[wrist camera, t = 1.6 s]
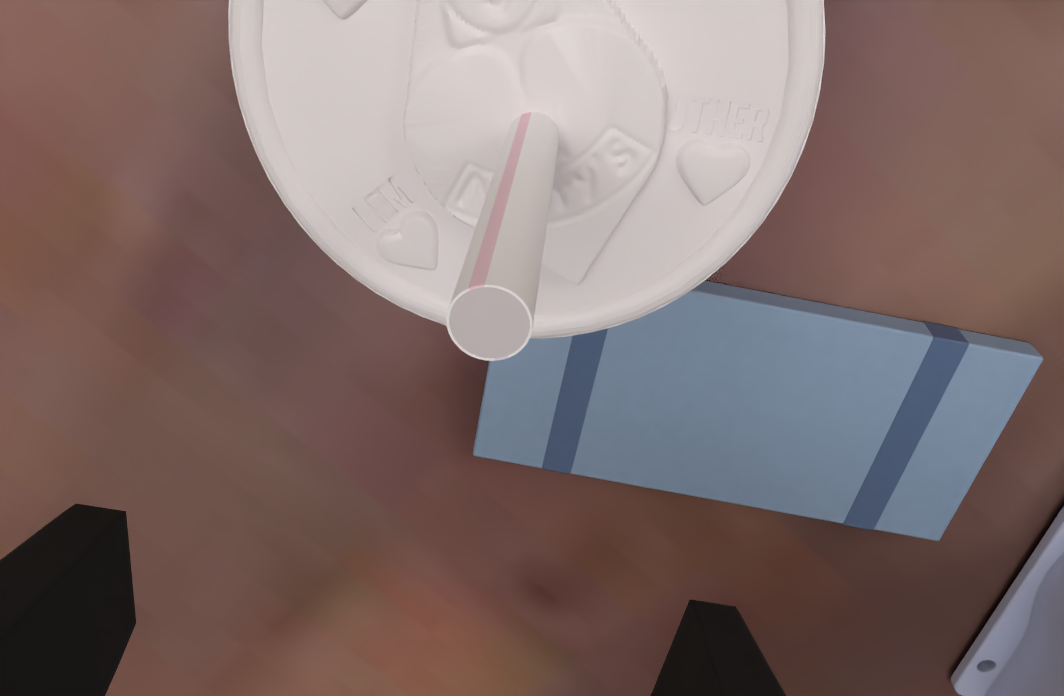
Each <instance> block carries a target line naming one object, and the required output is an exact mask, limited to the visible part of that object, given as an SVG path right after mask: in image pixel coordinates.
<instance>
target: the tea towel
mask: <svg viewBox="0 0 1064 696" xmlns="http://www.w3.org/2000/svg"><path fill="white" fill-rule="evenodd" d="M1042 361H1043V357H1042V356H1041V355H1040V354H1039V353H1038V352H1037V351H1036V350H1035V348H1034V347H1033V346H1032V345H1031V344H1030V343H1027V342H1022V341H1017V340H1012V339H1006V338H1001V337H996V336H991V335H985V334H980V333H975V332H970V331H965V330H959V329H958V328H955V327H950V326H945V325H939V324H934V323H929V322H918V321H913V320H907V319H902V318H897V317H892V316H886V315H881V314H876V313H871V312H866V311H860V310H855V309H850V308H845V307H840V306H834V305H829V304H824V303H819V302H814V301H808V300H803V299H798V298H793V297H787V296H782V295H777V294H772V293H767V292H761V291H756V290H751V289H746V288H741V287H735V286H730V285H725V284H720V283H715V282H709V281H703V282H702V283H700V284H699V285H697V286H696V287H695V288H693V289H692V290H690V291H689V292H687V293H686V294H685V295H683V296H681V297H679V298H678V299H676V300H674V301H672V302H670V303H669V304H667V305H665V306H663V307H662V308H659V309H657V310H655V311H653V312H651V313H649V314H646V315H644V316H642V317H640V318H637V319H634V320H632V321H629V322H626V323H623V324H620V325H617V326H614V327H610V328H607V329H603V330H599V331H595V332H591V333H585V334H579V335H573V336H567V337H555V338H530V339H529V341H528V343H527V344H526V345H525V346H524V348H523V349H522V350H521V351H519V352H518V353H517V354H515V355H513V356H511V357H510V358H506V359H503V360H497V361H489V364H488V370H487V375H486V381H485V387H484V392H483V398H482V404H481V409H480V415H479V420H478V426H477V432H476V437H475V443H474V449H473V455H474V456H478V457H483V458H489V459H494V460H500V461H505V462H510V463H516V464H521V465H527V466H532V467H538V468H542V469H545V470H550V471H555V472H561V473H566V474H576V475H581V476H587V477H592V478H597V479H603V480H608V481H614V482H619V483H625V484H630V485H636V486H641V487H646V488H652V489H657V490H663V491H668V492H674V493H679V494H685V495H690V496H695V497H701V498H706V499H712V500H717V501H723V502H728V503H734V504H739V505H744V506H750V507H755V508H761V509H766V510H772V511H777V512H782V513H788V514H793V515H799V516H804V517H810V518H815V519H821V520H826V521H831V522H837V523H842V524H843V525H845V526H851V527H856V528H862V529H867V530H874V529H875V530H880V531H886V532H891V533H897V534H902V535H908V536H913V537H919V538H924V539H929V540H935V541H939V540H940V538H941V536H942V535H943V533H944V531H945V529H946V528H947V526H948V524H949V522H950V521H951V519H952V517H953V515H954V514H955V512H956V510H957V509H958V507H959V505H960V503H961V502H962V500H963V498H964V496H965V495H966V493H967V491H968V489H969V488H970V486H971V484H972V482H973V481H974V479H975V477H976V475H977V474H978V472H979V470H980V469H981V467H982V465H983V463H984V462H985V460H986V458H987V456H988V455H989V453H990V451H991V449H992V448H993V446H994V444H995V442H996V441H997V439H998V437H999V435H1000V434H1001V432H1002V430H1003V429H1004V427H1005V425H1006V423H1007V422H1008V420H1009V418H1010V416H1011V415H1012V413H1013V411H1014V409H1015V408H1016V406H1017V404H1018V402H1019V401H1020V399H1021V397H1022V395H1023V394H1024V392H1025V390H1026V388H1027V387H1028V385H1029V383H1030V382H1031V380H1032V378H1033V376H1034V375H1035V373H1036V371H1037V369H1038V368H1039V366H1040V364H1041V362H1042Z"/></svg>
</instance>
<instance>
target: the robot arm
mask: <svg viewBox="0 0 1064 696" xmlns="http://www.w3.org/2000/svg"><path fill="white" fill-rule="evenodd" d="M135 624H136V617H135V606H134V595H133V584H132V573H131V562H130V551H129V540H128V529H127V518H126V511H120V510H113V509H107V508H101V507H94V506H88V505H81V504H75V505H73V506H72V507H70V508H69V509H67V510H66V511H64V512H63V513H62V514H60V515H59V516H58V517H56V518H55V519H54V520H52V521H51V522H50V523H48V524H47V525H46V526H44V527H43V528H42V529H41V530H39V531H38V532H37V533H35V534H34V535H33V536H31V537H30V538H29V539H27V540H26V541H25V542H23V543H22V544H21V545H20V546H18V547H17V548H16V549H14V550H13V551H12V552H10V553H9V554H8V555H6V556H5V557H4V558H2V559H1V560H0V696H105V694H106V692H107V690H108V688H109V685H110V683H111V681H112V679H113V676H114V674H115V672H116V670H117V667H118V665H119V663H120V660H121V658H122V655H123V653H124V651H125V648H126V646H127V643H128V641H129V639H130V636H131V634H132V631H133V629H134V627H135ZM951 682H952V685H953V687H954V689H955V691H956V692H957V693H958V694H959V695H962V696H1064V506H1063V508H1062V509H1061V511H1060V512H1059V514H1058V515H1057V517H1056V518H1055V520H1054V521H1053V523H1052V524H1051V526H1050V527H1049V529H1048V530H1047V532H1046V533H1045V535H1044V536H1043V538H1042V539H1041V541H1040V542H1039V544H1038V546H1037V547H1036V549H1035V550H1034V552H1033V553H1032V555H1031V556H1030V558H1029V559H1028V561H1027V562H1026V564H1025V565H1024V567H1023V568H1022V570H1021V571H1020V573H1019V574H1018V576H1017V577H1016V579H1015V580H1014V582H1013V583H1012V585H1011V587H1010V588H1009V590H1008V591H1007V593H1006V594H1005V596H1004V597H1003V599H1002V600H1001V602H1000V603H999V605H998V606H997V608H996V609H995V611H994V612H993V614H992V615H991V617H990V618H989V620H988V621H987V623H986V624H985V626H984V628H983V629H982V631H981V632H980V634H979V635H978V637H977V638H976V640H975V641H974V643H973V644H972V646H971V647H970V649H969V650H968V652H967V653H966V655H965V656H964V658H963V659H962V661H961V662H960V664H959V665H958V667H957V669H956V670H955V672H954V673H953V675H952V677H951ZM651 696H786V695H785V693H784V691H783V689H782V688H781V686H780V684H779V682H778V681H777V679H776V677H775V675H774V674H773V672H772V670H771V668H770V666H769V665H768V663H767V661H766V659H765V658H764V656H763V654H762V652H761V650H760V648H759V647H758V645H757V643H756V641H755V639H754V638H753V636H752V634H751V632H750V630H749V629H748V627H747V625H746V623H745V621H744V620H743V618H742V616H741V614H740V613H739V611H738V610H737V608H736V607H735V606H728V605H722V604H715V603H709V602H703V601H696V600H689V603H688V605H687V608H686V610H685V613H684V615H683V618H682V620H681V622H680V625H679V627H678V630H677V632H676V635H675V637H674V640H673V642H672V645H671V647H670V650H669V652H668V655H667V657H666V659H665V662H664V664H663V667H662V669H661V672H660V674H659V677H658V679H657V682H656V684H655V687H654V689H653V692H652V694H651Z"/></svg>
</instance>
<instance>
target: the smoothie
mask: <svg viewBox="0 0 1064 696" xmlns="http://www.w3.org/2000/svg"><path fill="white" fill-rule="evenodd" d="M228 17H229V47H230V56H231V65H232V73H233V78H234V83H235V88H236V93H237V98H238V102H239V106H240V109H241V112H242V116H243V119H244V122H245V126H246V129H247V131H248V134H249V136H250V139H251V141H252V144H253V146H254V149H255V152H256V154H257V156H258V158H259V160H260V162H261V164H262V166H263V168H264V170H265V172H266V174H267V176H268V178H269V180H270V182H271V183H272V185H273V187H274V188H275V190H276V192H277V193H278V195H279V196H280V198H281V200H282V201H283V203H284V204H285V206H286V207H287V208H288V210H289V211H290V212H291V214H292V215H293V217H294V218H295V219H296V221H297V222H298V223H299V225H300V226H301V227H302V228H303V229H304V230H305V232H306V233H307V234H308V235H309V236H310V237H311V238H312V240H313V241H314V242H315V243H316V244H317V245H318V246H319V247H320V248H321V249H322V250H323V251H324V252H325V253H326V254H327V255H328V256H329V257H330V258H331V259H332V260H333V261H334V262H335V263H337V264H338V265H339V266H340V267H341V268H343V269H344V270H345V271H346V272H348V273H349V274H350V275H351V276H353V277H354V278H355V279H356V280H358V281H359V282H361V283H362V284H364V285H365V286H367V287H368V288H369V289H371V290H372V291H374V292H375V293H377V294H378V295H380V296H382V297H384V298H385V299H387V300H389V301H391V302H393V303H394V304H396V305H398V306H400V307H402V308H404V309H406V310H408V311H411V312H413V313H415V314H417V315H419V316H421V317H424V318H427V319H430V320H432V321H435V322H438V323H441V324H443V325H446V326H447V329H448V332H449V335H450V337H451V339H452V340H453V342H454V343H455V344H456V345H457V346H458V347H459V348H460V349H461V350H462V351H463V352H465V353H466V354H468V355H470V356H472V357H475V358H477V359H481V360H486V361H497V360H503V359H506V358H510V357H511V356H513V355H515V354H517V353H518V352H519V351H521V350H522V349H523V348H524V346H525V345H526V344H527V343H528V341H529V339H530V338H555V337H567V336H573V335H579V334H585V333H591V332H595V331H599V330H603V329H607V328H610V327H614V326H617V325H620V324H623V323H626V322H629V321H632V320H634V319H637V318H640V317H642V316H644V315H646V314H649V313H651V312H653V311H655V310H657V309H659V308H662V307H663V306H665V305H667V304H669V303H670V302H672V301H674V300H676V299H678V298H679V297H681V296H683V295H685V294H686V293H687V292H689V291H690V290H692V289H693V288H695V287H696V286H697V285H699V284H700V283H702V282H703V281H705V280H706V279H707V278H708V277H710V276H711V275H712V274H713V273H714V272H716V271H717V270H718V269H719V268H720V267H722V266H723V265H724V264H725V263H726V262H727V261H728V260H729V259H730V258H731V257H732V256H733V255H734V254H735V253H736V252H737V251H738V250H739V249H740V248H741V247H742V246H743V245H744V244H745V243H746V242H747V241H748V239H749V238H750V237H751V236H752V235H753V233H754V232H755V231H756V230H757V229H758V227H759V226H760V225H761V224H762V223H763V221H764V220H765V218H766V217H767V215H768V214H769V212H770V211H771V210H772V208H773V207H774V205H775V204H776V202H777V201H778V199H779V197H780V196H781V194H782V192H783V190H784V188H785V187H786V185H787V183H788V181H789V180H790V178H791V176H792V174H793V172H794V169H795V167H796V165H797V163H798V160H799V158H800V156H801V154H802V151H803V149H804V146H805V143H806V140H807V137H808V134H809V131H810V128H811V125H812V123H813V119H814V115H815V110H816V106H817V102H818V98H819V93H820V87H821V80H822V73H823V66H824V51H825V15H824V0H229V11H228Z"/></svg>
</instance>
